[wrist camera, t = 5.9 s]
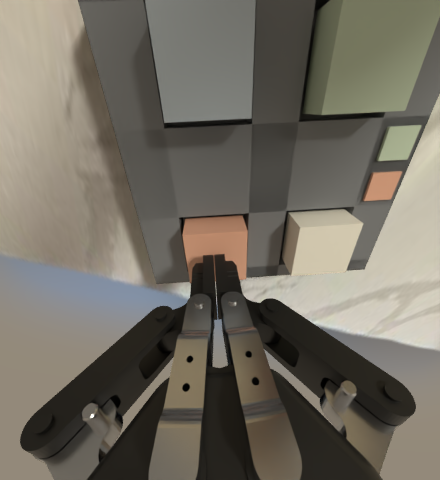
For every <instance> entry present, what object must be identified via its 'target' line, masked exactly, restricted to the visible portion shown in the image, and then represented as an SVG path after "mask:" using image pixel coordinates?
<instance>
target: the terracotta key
mask: <svg viewBox="0 0 440 480" xmlns="http://www.w3.org/2000/svg"><path fill="white" fill-rule="evenodd" d="M182 236H183V242H184V248H185V254H186V261H187V267H188V273H189V280H190V283H191V281H192V268H193V267H194V265H195V264H196V263H203V255H213V258H214V255H216V254H225V261H233V262H234V263H235V264H236V265H237V270H238V275H239V280H243V279H246V265H247V236H248V230H247V228H246V225H245V222H244V219H243V216H242V215H233V216H217V217H201V218H185V224H184V229H183V235H182ZM214 273H215V259H214ZM215 281H216V275H215Z"/></svg>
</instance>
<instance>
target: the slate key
mask: <svg viewBox="0 0 440 480" xmlns="http://www.w3.org/2000/svg"><path fill="white" fill-rule="evenodd" d="M145 4H146V10H147V16H148V23H149V29H150V35H151V41H152V48H153V54H154V60H155V66H156V73H157V79H158V85H159V92H160V98H161V104H162V110H163V117H164V123H171V122H191V121H211V120H231V119H251V118H252V93H253V64H254V36H255V7H256V0H145Z"/></svg>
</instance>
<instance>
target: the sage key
mask: <svg viewBox="0 0 440 480" xmlns="http://www.w3.org/2000/svg"><path fill="white" fill-rule="evenodd" d="M439 18H440V0H330V1H329V2H327V3H326V4H325V5H324V6H323V7H322V8H320V9H319V10H318V11H317V18H316V25H315V31H314V38H313V45H312V52H311V59H310V66H309V73H308V79H307V86H306V93H305V100H304V107H303V114H315V115H331V114H351V113H371V112H391V111H405V110H406V107H407V104H408V102H409V99H410V96H411V94H412V91H413V88H414V85H415V83H416V80H417V77H418V75H419V72H420V69H421V66H422V64H423V61H424V58H425V56H426V53H427V50H428V47H429V45H430V42H431V39H432V37H433V34H434V31H435V28H436V26H437V23H438V20H439Z"/></svg>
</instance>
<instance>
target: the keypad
mask: <svg viewBox="0 0 440 480" xmlns="http://www.w3.org/2000/svg"><path fill="white" fill-rule="evenodd" d="M329 1H330V0H256V7H255V36H254V64H253V93H252V118H251V119H231V120H211V121H191V122H171V123H164V117H163V110H162V104H161V98H160V92H159V85H158V79H157V73H156V66H155V60H154V54H153V48H152V41H151V35H150V29H149V23H148V16H147V10H146V4H145V0H78V2H79V6H80V9H81V13H82V17H83V20H84V24H85V27H86V31H87V35H88V38H89V42H90V45H91V49H92V53H93V56H94V60H95V64H96V67H97V71H98V74H99V78H100V82H101V85H102V89H103V92H104V96H105V100H106V103H107V107H108V110H109V114H110V118H111V121H112V125H113V128H114V132H115V136H116V139H117V143H118V147H119V150H120V154H121V157H122V161H123V165H124V168H125V172H126V175H127V179H128V183H129V186H130V190H131V193H132V197H133V201H134V204H135V208H136V211H137V215H138V219H139V222H140V226H141V230H142V233H143V237H144V240H145V244H146V248H147V251H148V255H149V258H150V262H151V266H152V269H153V273H154V276H155V280H156V284H162V283H177V282H190V280H189V273H188V267H187V261H186V254H185V248H184V242H183V236H182V235H183V229H184V224H185V218H201V217H217V216H233V215H242V216H243V219H244V222H245V225H246V228H247V230H248V236H247V265H246V278H247V277H262V276H276V275H290V273H289V271H288V269H287V267H286V265H285V263H284V261H283V259H282V250H283V244H284V237H285V230H286V223H287V216H288V212H297V211H313V210H329V209H345V210H346V211H347V212H349V213H350V214H351V215H353V216H354V217H355V218H357V219H358V220H359V221H361V222H362V223H364V224H363V226H362V229H361V232H360V235H359V237H358V240H357V243H356V245H355V248H354V251H353V254H352V256H351V259H350V262H349V264H348V267H347V270H361V269H365V267H366V264H367V262H368V260H369V257H370V255H371V253H372V250H373V248H374V246H375V243H376V241H377V238H378V236H379V234H380V231H381V229H382V227H383V224H384V222H385V220H386V217H387V215H388V213H389V210H390V208H391V206H392V203H393V201H394V199H395V196H396V194H397V192H398V189H399V187H400V185H401V182H402V180H403V178H404V175H405V173H406V171H407V168H408V166H409V164H410V161H411V159H412V157H413V154H414V152H415V150H416V147H417V145H418V143H419V140H420V138H421V136H422V133H423V131H424V129H425V126H426V124H427V122H428V119H429V117H430V114H431V112H432V110H433V107H434V105H435V103H436V100H437V98H438V96H439V93H440V18H439V20H438V23H437V26H436V28H435V31H434V34H433V37H432V39H431V42H430V45H429V47H428V50H427V53H426V56H425V58H424V61H423V64H422V66H421V69H420V72H419V75H418V77H417V80H416V83H415V85H414V88H413V91H412V94H411V96H410V99H409V102H408V104H407V107H406V110H405V111H391V112H371V113H351V114H331V115H315V114H303V107H304V100H305V93H306V86H307V79H308V73H309V66H310V59H311V52H312V45H313V38H314V31H315V25H316V18H317V11H318V10H319V9H320V8H322V7H323V6H324V5H325V4H326V3H327V2H329ZM347 270H346V271H347Z"/></svg>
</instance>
